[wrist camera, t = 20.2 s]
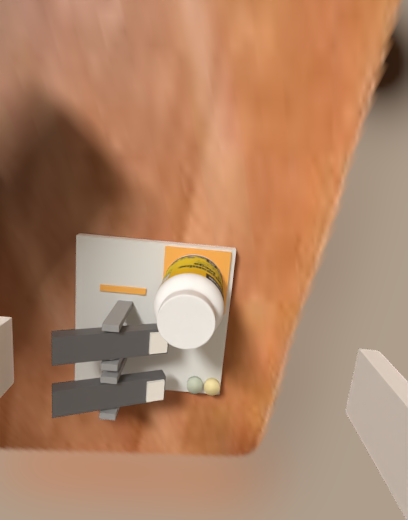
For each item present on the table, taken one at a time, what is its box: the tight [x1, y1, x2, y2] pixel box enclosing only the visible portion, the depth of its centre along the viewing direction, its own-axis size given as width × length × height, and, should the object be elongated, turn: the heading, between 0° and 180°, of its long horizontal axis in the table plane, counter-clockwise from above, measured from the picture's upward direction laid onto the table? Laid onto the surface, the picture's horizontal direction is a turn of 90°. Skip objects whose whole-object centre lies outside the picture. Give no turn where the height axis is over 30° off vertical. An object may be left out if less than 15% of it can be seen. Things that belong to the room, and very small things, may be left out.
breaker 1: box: [52, 323, 168, 366], centre depth 36 cm, size 11×3×2 cm, turn 83°
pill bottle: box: [154, 254, 224, 349], centre depth 34 cm, size 6×6×11 cm
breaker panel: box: [75, 233, 236, 420], centre depth 38 cm, size 17×18×8 cm
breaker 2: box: [52, 370, 166, 418], centre depth 37 cm, size 11×3×2 cm, turn 83°
